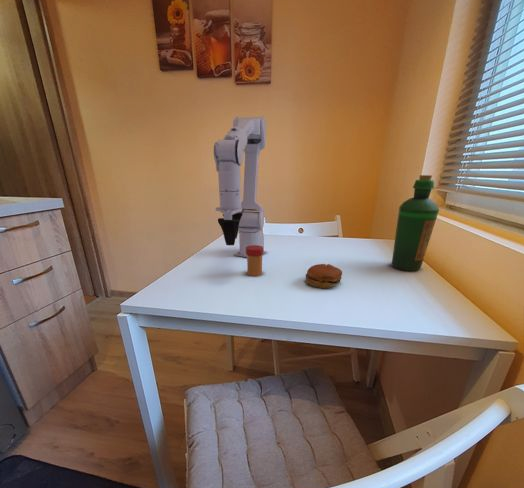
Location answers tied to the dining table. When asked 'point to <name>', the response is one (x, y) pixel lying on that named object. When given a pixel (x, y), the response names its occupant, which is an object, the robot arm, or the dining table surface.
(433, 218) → the bottle
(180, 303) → the dining table surface
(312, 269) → the burger
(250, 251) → the jar lid
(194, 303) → the dining table surface
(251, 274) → the honey jar
